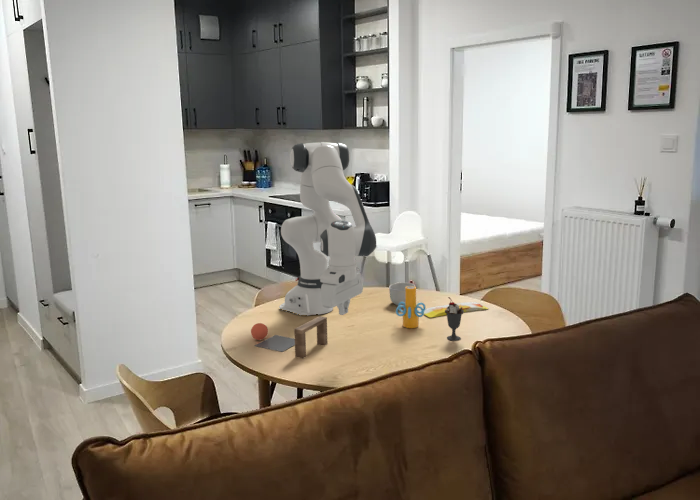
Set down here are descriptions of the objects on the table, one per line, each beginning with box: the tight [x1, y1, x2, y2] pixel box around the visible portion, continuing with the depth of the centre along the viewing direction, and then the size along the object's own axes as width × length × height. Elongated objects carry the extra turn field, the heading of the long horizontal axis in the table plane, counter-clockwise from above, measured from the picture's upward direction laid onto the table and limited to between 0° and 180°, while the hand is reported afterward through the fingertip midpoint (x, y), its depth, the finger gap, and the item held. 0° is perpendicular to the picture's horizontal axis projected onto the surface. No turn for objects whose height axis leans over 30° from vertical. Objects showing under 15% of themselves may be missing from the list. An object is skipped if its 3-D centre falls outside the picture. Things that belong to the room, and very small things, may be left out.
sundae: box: [445, 297, 465, 342], centre depth 218 cm, size 7×7×15 cm
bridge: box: [293, 315, 329, 359], centre depth 210 cm, size 3×15×10 cm, turn 149°
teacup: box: [388, 281, 416, 306], centre depth 262 cm, size 14×11×8 cm
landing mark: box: [254, 334, 295, 353], centre depth 218 cm, size 12×12×1 cm
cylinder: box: [395, 285, 427, 329], centre depth 232 cm, size 12×10×15 cm
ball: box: [250, 322, 269, 341], centre depth 222 cm, size 6×6×6 cm
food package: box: [417, 301, 489, 318], centre depth 251 cm, size 27×2×10 cm
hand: (343, 313), depth 201 cm, fingers closed
